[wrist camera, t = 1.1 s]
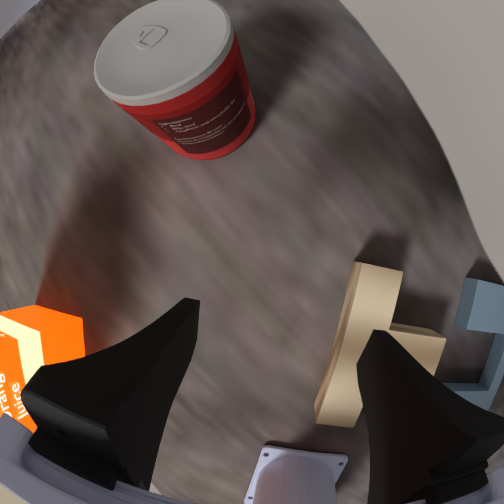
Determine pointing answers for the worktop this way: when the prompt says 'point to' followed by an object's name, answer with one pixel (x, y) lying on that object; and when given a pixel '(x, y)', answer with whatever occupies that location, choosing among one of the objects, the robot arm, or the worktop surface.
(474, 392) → the dock
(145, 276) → the worktop surface
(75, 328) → the orange juice
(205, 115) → the canned food
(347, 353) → the t block
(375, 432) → the robot arm
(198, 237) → the worktop surface
